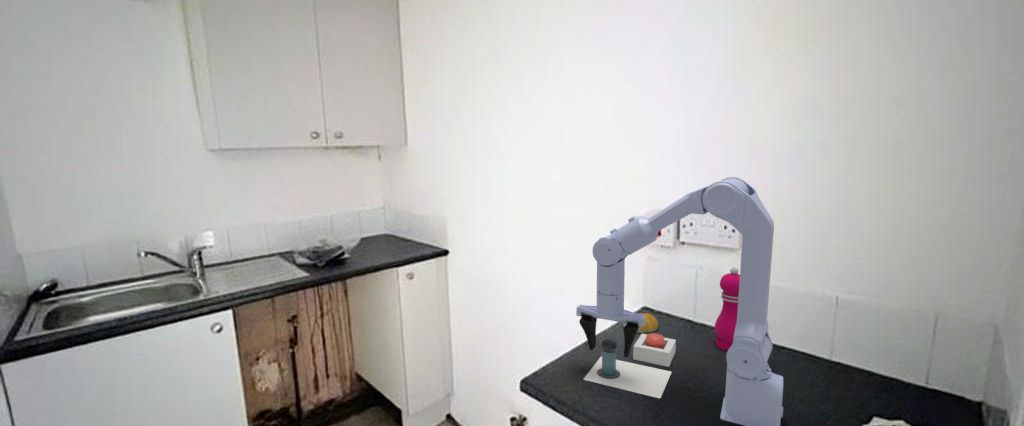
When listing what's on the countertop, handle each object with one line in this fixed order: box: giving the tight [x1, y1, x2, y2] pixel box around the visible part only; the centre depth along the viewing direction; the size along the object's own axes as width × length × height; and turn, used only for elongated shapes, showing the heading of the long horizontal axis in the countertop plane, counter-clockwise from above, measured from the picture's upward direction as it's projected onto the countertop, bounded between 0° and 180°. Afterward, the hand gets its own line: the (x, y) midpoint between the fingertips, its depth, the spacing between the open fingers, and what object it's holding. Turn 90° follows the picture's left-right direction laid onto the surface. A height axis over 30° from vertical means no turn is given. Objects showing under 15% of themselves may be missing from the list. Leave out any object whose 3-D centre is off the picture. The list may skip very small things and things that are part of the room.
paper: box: [583, 355, 673, 399], centre depth 102 cm, size 16×12×1 cm
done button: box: [646, 332, 665, 349], centre depth 111 cm, size 4×4×2 cm
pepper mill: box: [714, 267, 740, 352], centre depth 115 cm, size 7×7×20 cm
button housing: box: [632, 333, 677, 368], centre depth 111 cm, size 8×8×4 cm
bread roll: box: [622, 312, 659, 334], centre depth 128 cm, size 8×9×4 cm
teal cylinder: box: [601, 339, 618, 376], centre depth 103 cm, size 3×3×7 cm
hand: (609, 351), depth 102 cm, fingers open, 7 cm apart
